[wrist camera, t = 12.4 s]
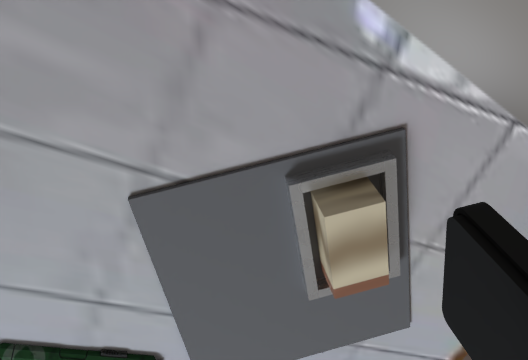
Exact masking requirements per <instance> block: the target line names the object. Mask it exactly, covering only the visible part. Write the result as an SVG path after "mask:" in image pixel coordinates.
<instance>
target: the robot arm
mask: <svg viewBox="0 0 528 360" xmlns="http://www.w3.org/2000/svg"><path fill="white" fill-rule="evenodd" d="M442 311H443V315H444V318H445V320H446V322H447V324H448V326H449V327H450V329H451V330H452V331H453V333H454V334H455V336H456V337H457V339H458V340H459V341H460V343H461V344H462V346H463V347H464V349H465V350H466V351H467V353H468V354H469V356H470V357H471V359H472V360H528V240H527V239H526V238H525V237H524V236H522V235H521V234H520V233H519V232H518V231H517V230H516V229H515V228H514V227H513V226H512V225H510V224H509V223H508V222H507V221H506V220H505V219H504V218H503V217H502V216H501V215H500V214H498V213H497V212H496V211H495V210H494V209H493V208H492V207H491V206H490V205H488V204H487V203H485V202H480V203H476V204H472V205H468V206H464V207H460V208H457V209H456V210H455V211H454V214H453V217H450V218H449V219H448V220H447V231H446V248H445V265H444V283H443V300H442ZM0 360H1V358H0Z"/></svg>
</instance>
